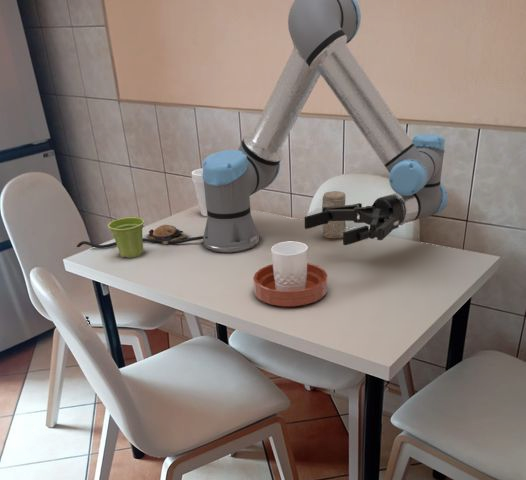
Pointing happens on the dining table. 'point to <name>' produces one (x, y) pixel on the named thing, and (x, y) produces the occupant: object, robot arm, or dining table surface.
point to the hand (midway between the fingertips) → (324, 230)
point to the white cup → (290, 265)
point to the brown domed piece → (166, 233)
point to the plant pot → (128, 236)
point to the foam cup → (200, 189)
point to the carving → (334, 227)
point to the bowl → (270, 295)
